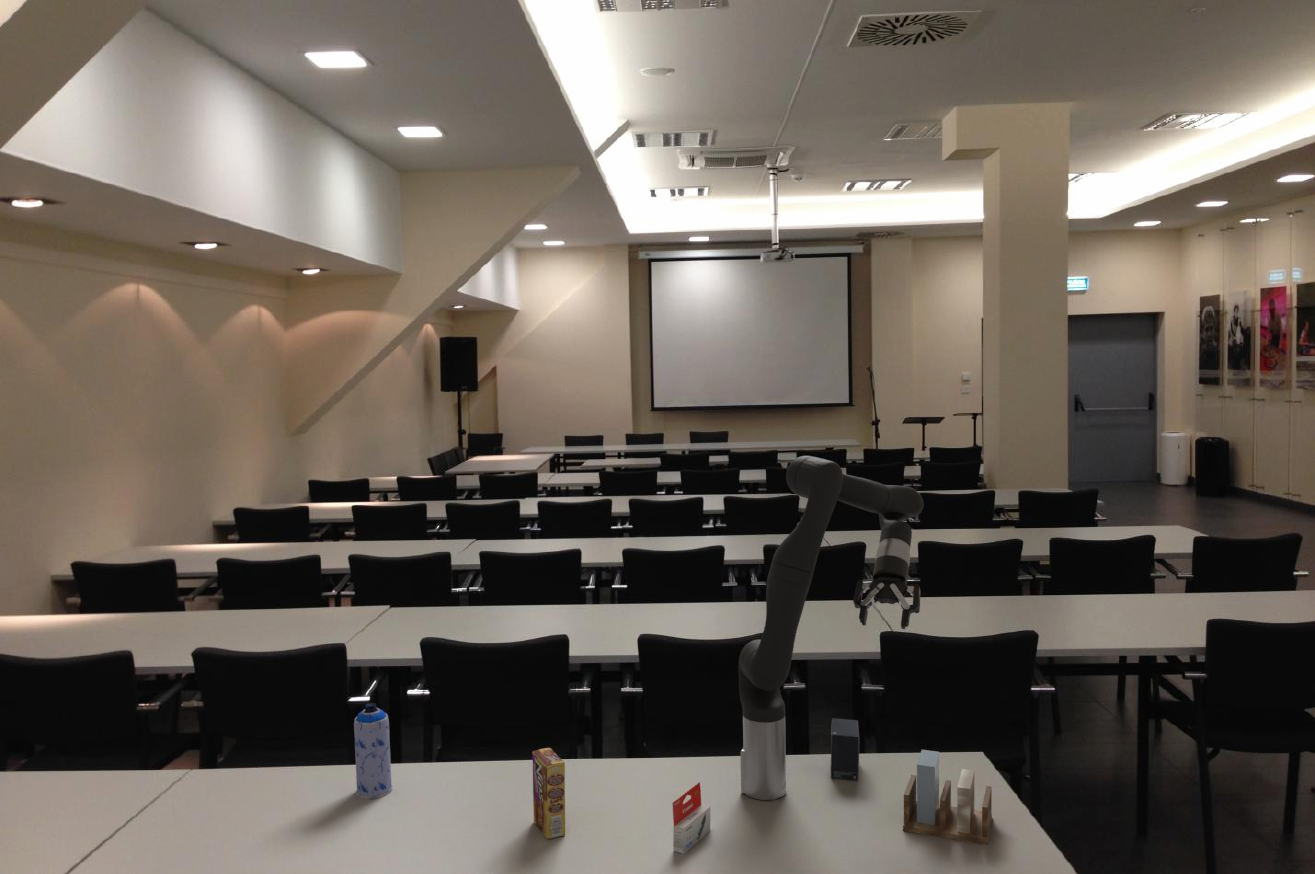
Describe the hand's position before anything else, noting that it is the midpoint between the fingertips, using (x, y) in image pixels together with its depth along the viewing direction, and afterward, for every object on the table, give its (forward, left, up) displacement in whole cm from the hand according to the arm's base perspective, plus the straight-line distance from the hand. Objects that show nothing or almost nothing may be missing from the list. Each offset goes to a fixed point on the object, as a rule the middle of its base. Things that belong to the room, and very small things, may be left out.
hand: (883, 625), depth 208 cm
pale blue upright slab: (+11, -11, -36) cm, 39 cm away
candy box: (-60, -43, -37) cm, 82 cm away
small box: (-10, +6, -37) cm, 39 cm away
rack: (+15, -12, -37) cm, 41 cm away
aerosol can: (-106, -42, -37) cm, 120 cm away
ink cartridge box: (-31, -37, -37) cm, 61 cm away
